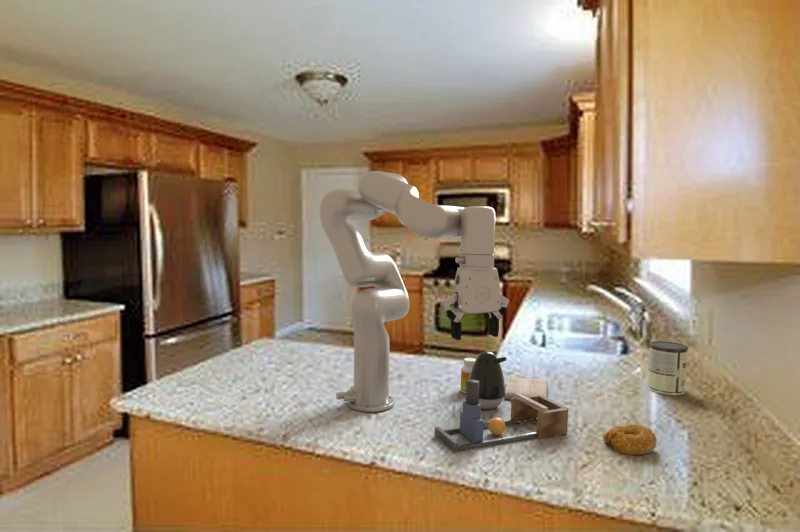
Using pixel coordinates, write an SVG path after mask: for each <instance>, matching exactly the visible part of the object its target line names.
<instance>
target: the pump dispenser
mask: <svg viewBox="0 0 800 532" xmlns="http://www.w3.org/2000/svg"><path fill="white" fill-rule="evenodd" d="M475 359H476V360H475V362H474V364H473V367H472V370H471V373H470V376H469V380H477V381H479V404H480V405H481V410H494V409H496V408H498V407H499V406H500V405H501V404H502V403H503V400H504V399H505V393H506V383H505V378H504V376H505V375H504V373H503V368H502V365H501V363H503V362H506V361H507V357H506V356H502V357H497V355H496V354H495V353H494V352H492V351H488V350H483V351H482V352H480V353H479V354H478V355H477V357H476V358H475Z"/></svg>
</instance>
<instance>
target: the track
mask: <svg viewBox="0 0 800 532" xmlns="http://www.w3.org/2000/svg"><path fill="white" fill-rule="evenodd" d="M502 420H503V419H502ZM503 421H504V423H505V426H510V425H515V424H516V423H515V420H514V419H511V418H508V419H504V420H503ZM514 423H515V424H514ZM488 424H489V422H484V424H483V430H485V429H489V428H488ZM509 424H510V425H509ZM459 433H460V434H462V433H461V432H460V426H459V427H452V428H446V429H442V427H440V426H434V437H436V438H437V439H438V440H439V441H440V442H442V443H443V444H444V445H445V446H446V447H447V448H449V449H450V450H451V451H452V452H453V453H457V452H463V451H469V450H474V449H480V448H486V447H490V446H496V445H497V446H498V445H502V444H508V443H513V442H519V441H525V440H530V439H531V440H532V439H535V437H536V438H537V431H532V432H526V433H521V434H515V435H509V436H505V437H498V438H492V439H486V440H483V441H480V442H469V443H463V444H459V442H458V440H456V439H454V438H453V437H452V436H451V435H453V434H454V435H455V434H459Z"/></svg>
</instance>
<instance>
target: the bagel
mask: <svg viewBox="0 0 800 532" xmlns="http://www.w3.org/2000/svg"><path fill="white" fill-rule="evenodd" d="M603 441H604V442H605V443H607V444H608V445H610V446H612V448H613V449H614V450H616V451H617V452H620V453H621V454H624V455H629V456H630V455H631V456H641V455H643V456H644V455H646V454H650V452H652V451H653V450H655V448H656V446H657V438H656V433H654V432H653V431H652V429H649V428H648V427H646V426H644V425H642V424H636V423H634V424H633V423H631V424H627V425H625V426H623V425H622V426H621V425H618V426H614V427H612V428H610V429H609V430H607V431H606V432H605V433H604V435H603Z"/></svg>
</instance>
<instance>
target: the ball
mask: <svg viewBox="0 0 800 532" xmlns="http://www.w3.org/2000/svg"><path fill="white" fill-rule="evenodd" d="M488 423H489V424H488V428H487V429H488V430H489V432H490V433H491V434H492V435H494V436H500V435H502V434H503V433H504V432H505V431H506V425H505V423H504V421H503V419H502V418H501V417H498V416H497V417H493V418H490V420H489V421H488Z"/></svg>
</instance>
